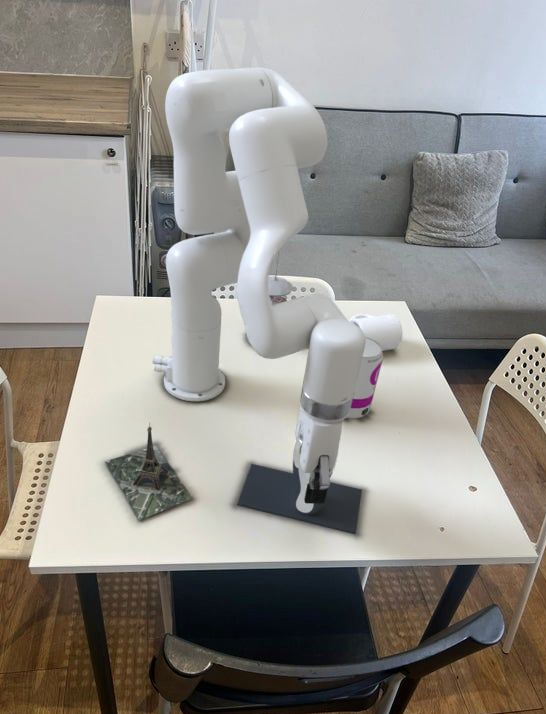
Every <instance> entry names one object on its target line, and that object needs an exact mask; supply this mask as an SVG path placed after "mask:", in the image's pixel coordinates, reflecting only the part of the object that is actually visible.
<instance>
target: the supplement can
mask: <svg viewBox="0 0 546 714" xmlns="http://www.w3.org/2000/svg"><path fill="white" fill-rule="evenodd" d="M383 360H384V353H383V351H382V349H381V346H380V344H379V343H378V342H376V341H375V340H373V339H371V338H368V337H365V348H364V352H363V356H362V361H361V365H360V369H359V373H358V378H357V382H356V386H355V390H354V395H353V399H352V404H351V408H350V412H349V415H348V416H347V417H346V418H345V419H353V420H354V419H360V418H362V417H365V416H366V415H368V414H369V413H370V410H371V408H372V404H373V399H374V395H375V392H376V388H377V384H378V380H379V376H380V372H381V370H382V369H381V368H382V364H383Z"/></svg>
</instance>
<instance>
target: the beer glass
mask: <svg viewBox="0 0 546 714" xmlns="http://www.w3.org/2000/svg"><path fill="white" fill-rule="evenodd" d="M301 447H302V440H301V437H300V429H299V431H298V436H297V439H296V438H295V442H294V447H293V453H292V473H293V487H292V490H291V492H290V494H289V497H288V501H289V505H290V506H291V508H292V509H293V510H294V511H296V512H298V513H300V514H303V515H314V514H317V513H318V512H320V511H321V510H322V508H323V506H324V503H322V504H307V503H305V501H304V498H305V493H306V488H307V484H309V483H310V473H305V472H303V470H302V469H301V465H300V455H301ZM339 449H340V447H339V448H338V450H339ZM338 456H339V453H338V454H337V457H338ZM337 462H338V458H337V459H336V463H335V466H334V469H333V471H332V472H331V473H329V476H330V478H332V475H333V473H334V470H335V468H336V465H337ZM316 468H319V461H318V465H317V466H316ZM319 480H320V473H315V481H319Z"/></svg>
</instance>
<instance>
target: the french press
mask: <svg viewBox="0 0 546 714" xmlns="http://www.w3.org/2000/svg"><path fill="white" fill-rule="evenodd" d="M279 257H280V250H279V251H278V253H277V259H276V268H275V276H272V275H271V276H270V275H269V277H268V290H269V296H270V300H271V304H272V305H274V304H277V303H281V302H285V301H288V300H287V299H286V298H285V297H286V296H288V295H290V294H291V293H292V292H293V290H294V285H293V284H292V283H291V281H288V280H287V279H285V278H283V277H279V276H277V273H278V264H279ZM247 341H248V343H249V344H250V341H249V339H248V338H247Z"/></svg>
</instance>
